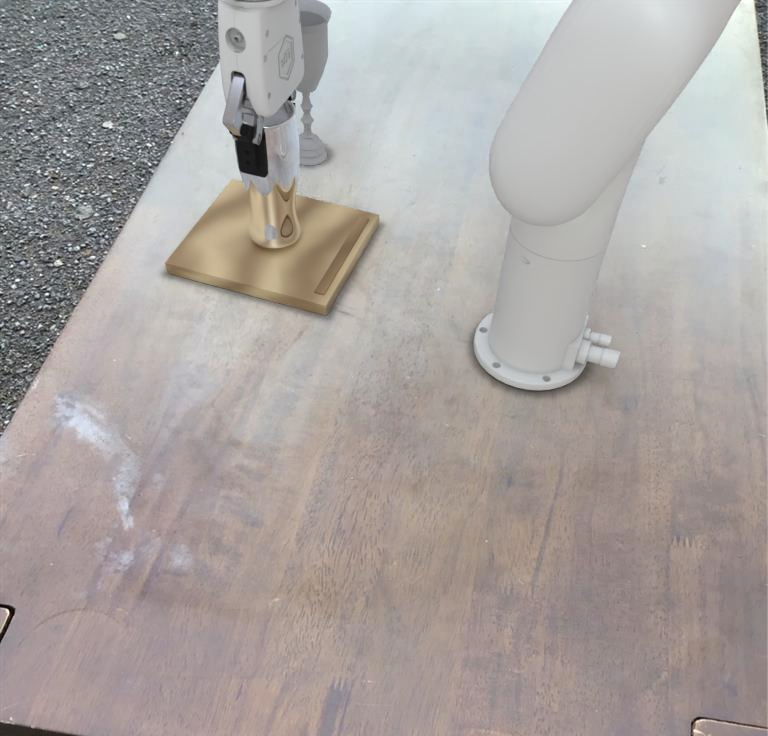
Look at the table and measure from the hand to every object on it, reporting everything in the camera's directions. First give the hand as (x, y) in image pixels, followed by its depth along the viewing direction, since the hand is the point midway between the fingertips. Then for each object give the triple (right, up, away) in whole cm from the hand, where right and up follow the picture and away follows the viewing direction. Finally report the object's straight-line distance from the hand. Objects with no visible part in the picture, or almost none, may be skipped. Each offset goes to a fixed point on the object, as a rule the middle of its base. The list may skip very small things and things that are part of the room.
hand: (268, 153), depth 89 cm
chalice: (+2, +9, +22) cm, 24 cm away
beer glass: (0, -6, +8) cm, 10 cm away
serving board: (-1, -7, +10) cm, 12 cm away
